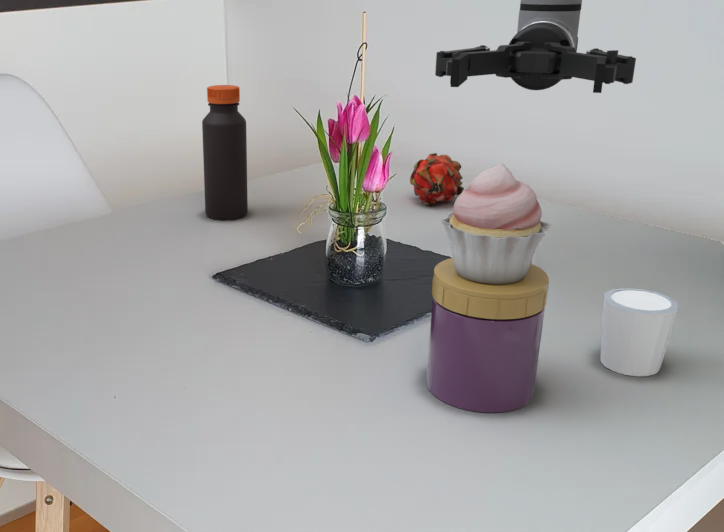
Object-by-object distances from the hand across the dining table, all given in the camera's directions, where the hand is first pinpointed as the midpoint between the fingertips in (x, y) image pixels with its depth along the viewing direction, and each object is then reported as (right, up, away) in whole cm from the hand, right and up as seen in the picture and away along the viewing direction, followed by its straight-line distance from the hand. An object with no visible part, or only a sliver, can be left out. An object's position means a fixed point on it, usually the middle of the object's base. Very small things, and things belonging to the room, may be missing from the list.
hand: (525, 75), depth 82 cm
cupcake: (-5, -20, -6) cm, 21 cm away
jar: (-5, -30, -2) cm, 31 cm away
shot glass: (+11, -29, +3) cm, 31 cm away
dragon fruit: (+3, -6, +59) cm, 59 cm away
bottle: (-32, -8, +52) cm, 62 cm away
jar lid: (-5, -20, -6) cm, 21 cm away
